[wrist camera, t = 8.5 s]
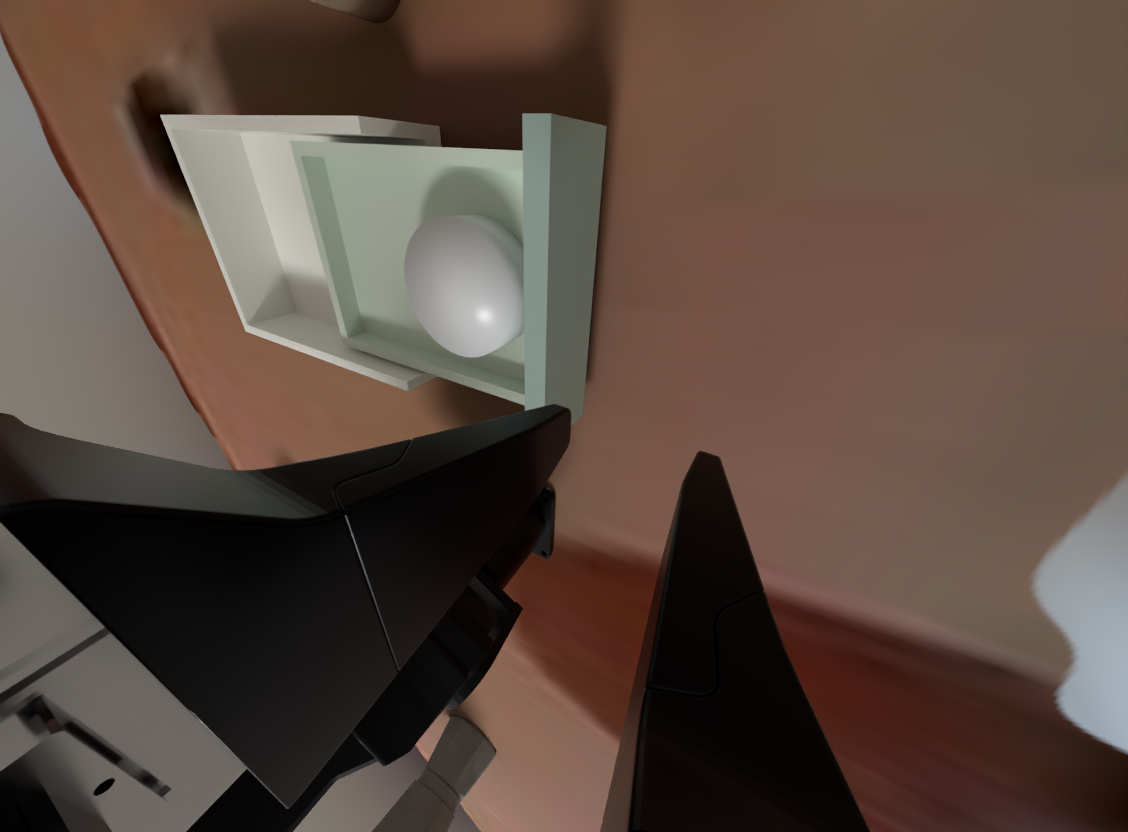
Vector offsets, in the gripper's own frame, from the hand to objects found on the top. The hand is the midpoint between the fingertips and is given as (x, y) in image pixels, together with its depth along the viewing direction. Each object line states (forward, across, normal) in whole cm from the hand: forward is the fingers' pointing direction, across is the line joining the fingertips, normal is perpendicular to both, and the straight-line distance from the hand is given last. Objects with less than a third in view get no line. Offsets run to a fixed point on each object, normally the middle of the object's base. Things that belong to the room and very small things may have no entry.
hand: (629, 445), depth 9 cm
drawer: (+10, +13, 0) cm, 17 cm away
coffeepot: (+11, +21, +72) cm, 76 cm away
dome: (+9, +11, 0) cm, 14 cm away
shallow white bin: (+11, +23, 0) cm, 25 cm away
